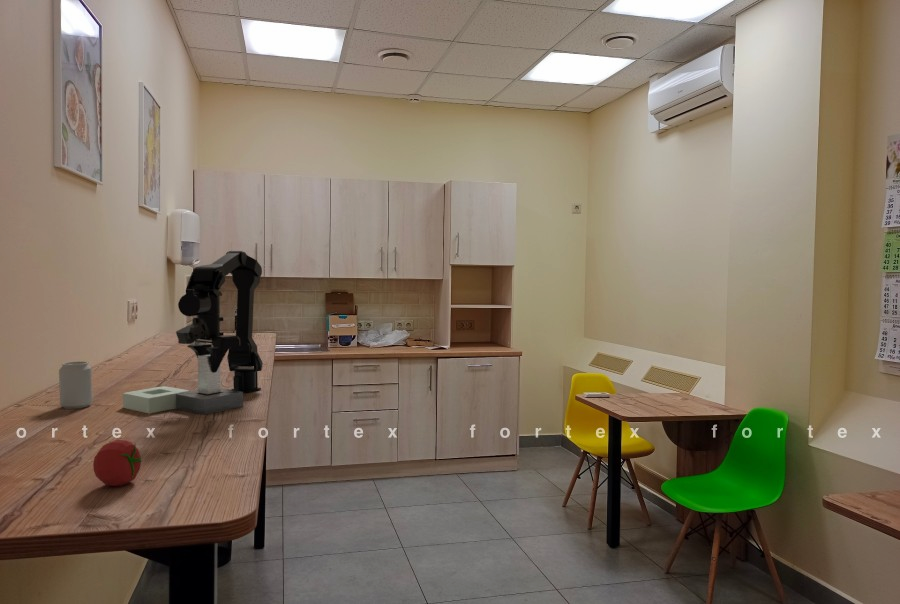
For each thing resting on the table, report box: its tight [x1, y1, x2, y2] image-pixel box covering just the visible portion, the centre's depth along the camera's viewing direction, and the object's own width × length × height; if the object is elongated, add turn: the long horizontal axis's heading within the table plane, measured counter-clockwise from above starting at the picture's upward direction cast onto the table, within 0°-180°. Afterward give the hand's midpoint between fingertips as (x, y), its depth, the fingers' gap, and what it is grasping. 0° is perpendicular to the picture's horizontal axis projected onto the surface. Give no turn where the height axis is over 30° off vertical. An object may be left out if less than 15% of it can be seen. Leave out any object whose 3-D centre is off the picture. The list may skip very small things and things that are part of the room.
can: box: [58, 360, 93, 410], centre depth 167 cm, size 8×8×12 cm
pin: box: [197, 354, 222, 394], centre depth 166 cm, size 4×4×10 cm
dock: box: [122, 385, 191, 414], centre depth 168 cm, size 12×12×4 cm
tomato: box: [92, 439, 143, 487], centre depth 108 cm, size 8×8×8 cm
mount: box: [175, 387, 244, 416], centre depth 167 cm, size 12×12×4 cm
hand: (209, 371), depth 166 cm, fingers closed on pin, 4 cm apart
